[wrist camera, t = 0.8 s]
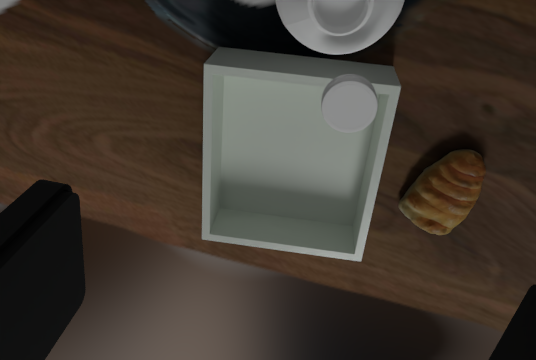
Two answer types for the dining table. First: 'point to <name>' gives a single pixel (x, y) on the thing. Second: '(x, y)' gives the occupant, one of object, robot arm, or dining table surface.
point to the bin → (289, 154)
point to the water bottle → (342, 49)
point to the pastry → (445, 192)
